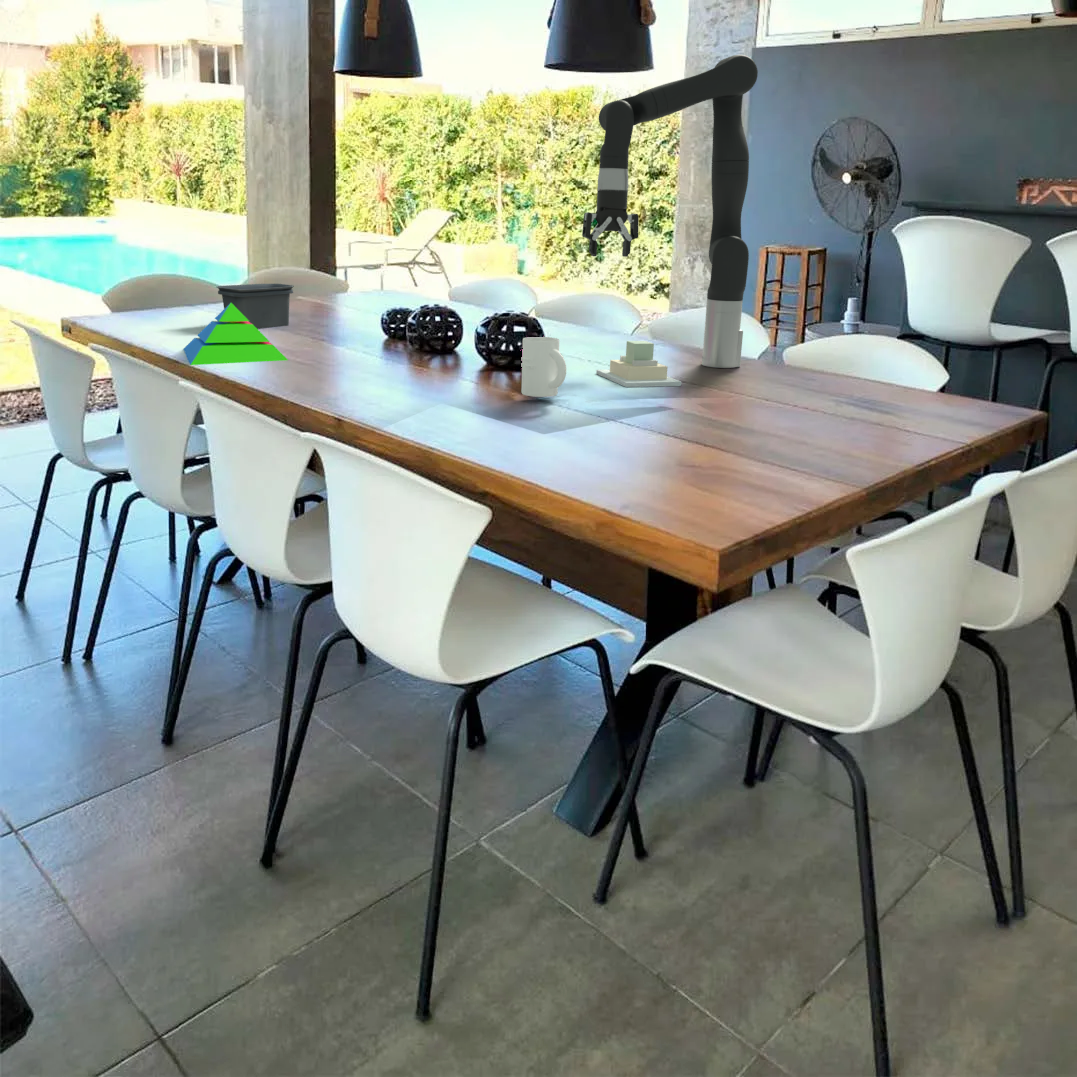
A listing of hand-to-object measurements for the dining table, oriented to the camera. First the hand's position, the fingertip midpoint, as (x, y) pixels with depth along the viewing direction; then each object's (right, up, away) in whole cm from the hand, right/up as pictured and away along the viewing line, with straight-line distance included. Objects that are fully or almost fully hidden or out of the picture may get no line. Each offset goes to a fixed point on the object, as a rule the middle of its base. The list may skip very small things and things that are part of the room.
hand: (609, 256), depth 260 cm
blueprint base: (+6, -32, -8) cm, 34 cm away
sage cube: (+7, -28, -9) cm, 31 cm away
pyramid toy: (-97, -24, +10) cm, 101 cm away
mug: (-16, -40, -33) cm, 54 cm away
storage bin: (-104, -8, +56) cm, 118 cm away
